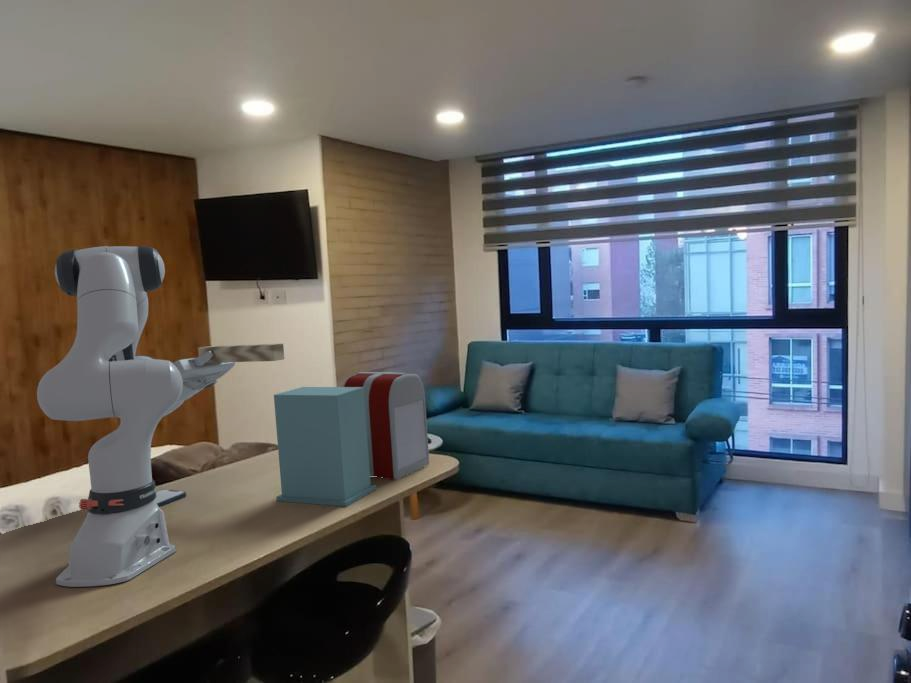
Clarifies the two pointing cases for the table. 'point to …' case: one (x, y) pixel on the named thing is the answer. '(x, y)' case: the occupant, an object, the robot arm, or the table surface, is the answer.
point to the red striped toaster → (394, 422)
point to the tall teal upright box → (322, 445)
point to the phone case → (168, 496)
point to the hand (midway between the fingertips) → (219, 352)
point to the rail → (244, 353)
